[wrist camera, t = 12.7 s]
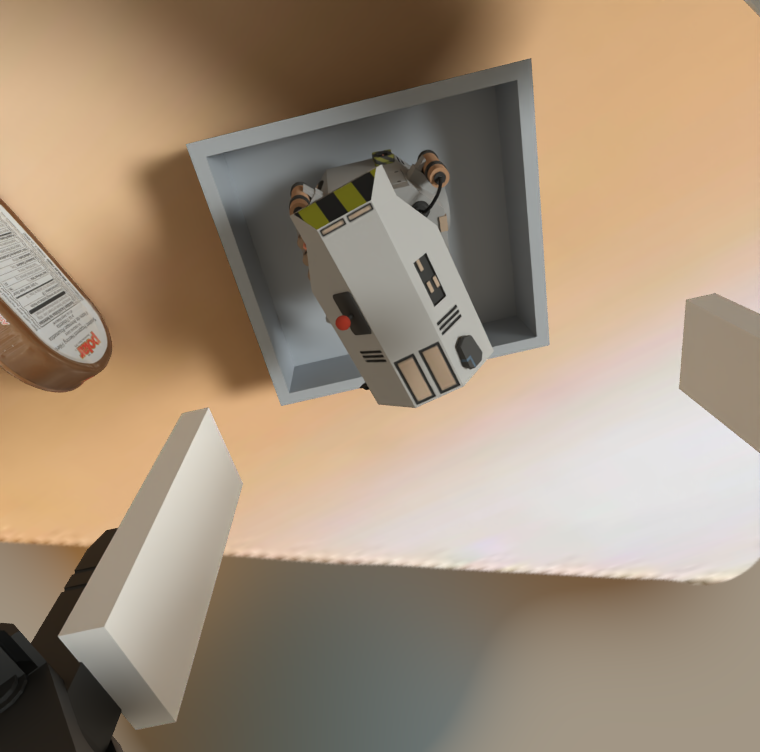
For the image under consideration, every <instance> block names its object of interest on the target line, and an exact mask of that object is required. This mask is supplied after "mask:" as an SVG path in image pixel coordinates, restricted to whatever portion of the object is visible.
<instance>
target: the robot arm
mask: <svg viewBox="0 0 760 752" xmlns="http://www.w3.org/2000/svg"><path fill="white" fill-rule="evenodd" d="M744 1H745V2H746V3H747V4H748V5H749V6H750V7H751V8H752V9H753V10H754V11H755V12H756V13H757V14H758V15H759V17H760V0H744ZM679 389H680V390H681V391H683V392H684V393H685V394H686V395H688V396H689V397H690V398H691V399H693V400H694V401H695V402H696V403H698V404H699V405H700V406H702V407H703V408H704V409H705V410H707V411H708V412H709V413H710V414H712V415H713V416H714V417H715V418H717V419H718V420H719V421H720V422H722V423H723V424H724V425H725V426H727V427H728V428H729V429H730V430H732V431H733V432H734V433H735V434H737V435H738V436H739V437H740V438H742V439H743V440H744V441H745V442H747V443H748V444H749V445H750V446H752V447H753V448H754V449H755V450H757V451H758V452H759V453H760V314H759V313H757V312H754V311H752V310H750V309H748V308H746V307H744V306H742V305H739V304H737V303H735V302H733V301H731V300H729V299H726V298H724V297H722V296H720V295H718V294H716V293H714V294H710V295H706V296H701V297H697V298H692V299H688V300H686V307H685V320H684V333H683V345H682V358H681V371H680V384H679ZM242 485H243V483H242V480H241V478H240V476H239V474H238V471H237V469H236V467H235V465H234V463H233V460H232V458H231V456H230V454H229V451H228V449H227V447H226V445H225V443H224V440H223V438H222V436H221V434H220V431H219V429H218V427H217V425H216V423H215V420H214V418H213V416H212V414H211V411H210V409H209V407H208V408H204V409H199V410H195V411H190V412H186V413H182V414H181V416H180V418H179V420H178V422H177V423H176V425H175V427H174V429H173V431H172V432H171V434H170V436H169V438H168V439H167V441H166V443H165V445H164V447H163V448H162V450H161V452H160V454H159V456H158V457H157V459H156V461H155V463H154V465H153V466H152V468H151V470H150V472H149V474H148V475H147V477H146V479H145V481H144V483H143V484H142V486H141V488H140V490H139V491H138V493H137V495H136V497H135V499H134V500H133V502H132V504H131V506H130V508H129V509H128V511H127V513H126V515H125V517H124V518H123V520H122V522H121V524H120V526H119V527H118V528H115V529H110V530H106V531H105V532H104V533H103V534H102V535H101V536H100V537H99V538H98V539H97V540H96V541H95V542H94V543H93V544H92V545H91V546H90V547H89V548H88V549H87V551H86V553H85V554H84V556H83V557H82V559H81V561H80V563H79V564H78V566H77V568H76V569H75V574H74V575H72V576H71V577H70V579H69V581H68V582H67V584H66V586H65V588H64V589H65V591H64V592H62V593H61V594H60V596H59V597H58V599H57V601H56V602H55V604H54V606H53V607H52V609H51V611H50V612H49V614H48V616H47V617H46V619H45V621H44V622H43V624H42V626H41V627H40V629H39V631H38V632H37V634H36V636H35V637H34V639H33V641H32V642H31V643H30V642H29V641H28V640H27V639H26V638H25V637H24V635H23V634H22V633H21V632H20V631H19V630H18V629H17V628H16V626H15V625H14V624H7V623H0V752H123V750H122V748H121V746H120V744H119V743H118V742H117V741H116V739H115V738H114V737H113V736H112V735H113V732H114V730H115V727H116V724H117V721H118V719H119V716H120V714H121V713H122V714H123V715H124V716H125V718H126V719H127V720H128V721H129V722H130V724H131V725H132V726H133V727H134V728H135V729H136V730H137V729H142V728H147V727H152V726H157V725H163V724H168V723H172V722H176V720H177V716H178V713H179V709H180V706H181V702H182V699H183V695H184V691H185V688H186V684H187V681H188V677H189V674H190V670H191V667H192V663H193V659H194V656H195V652H196V649H197V645H198V642H199V638H200V634H201V631H202V627H203V624H204V620H205V617H206V613H207V609H208V606H209V603H210V599H211V595H212V592H213V588H214V585H215V581H216V577H217V574H218V571H219V567H220V563H221V560H222V556H223V553H224V549H225V546H226V542H227V538H228V535H229V531H230V528H231V524H232V521H233V517H234V514H235V510H236V506H237V503H238V499H239V496H240V492H241V489H242Z"/></svg>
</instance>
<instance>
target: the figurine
mask: <svg viewBox="0 0 760 752" xmlns="http://www.w3.org/2000/svg"><path fill="white" fill-rule="evenodd" d="M449 178H450V176H449V172H448V171H447V168H446V167H445V165H444V164H443V163H442V162H440V161H439V159H438V156H437V155H436V153H435V152H434V151H432V150H424V151H422V152H421V153H420V154H419V156H418V158H417V162H416V163H415V165H414V164H412V166H411V165H409V164H408V163H406V162H405V161H403V160H402V159H400V158H399V157H398V156H396V155H395V154H393V153H392V152H391V150H390V149H388V150H384V151H377V152H373V153H372V158H371V159H367V160H363V161H359V162H355V163H351V164H347V165H343V166H339V167H335V168H330V169H326V171H325V173H324V175H323V176H322V178H321V180H320V182H319V183H318V184H317V186H316V188H315V189H313V188H311V187H309V186H308V185H307V184H306V183H304V182H297V183H295V184H293V186H292V187H291V191H290V196H291V200H290V203H289V210H290V211H289V212H290V218H291V219H292V221H293V223H294V225H295V227H296V232H297V236H298V240H297V245H298V247H299V248H300V249H301V250H302V253H303V259H302V260H303V263H304V264H305V265H306V266H308V267H309V270H308V278H309V280H310V281H311V289H312V292H313V294H314V296H315V297H316V299H317V301H318V303H319V304H320V306H321V308H322V309H323V311H324V313H325V314H326V322H328V323H329V324H331V325H332V326H333V328H334V330H335V331H336V333H337V335H338V337H339V338H340V340H341V342H342V343H343V345H344V347H345V348H346V350H347V352H348V354H349V355H350V357H351V359H352V360H353V362H354V364H355V365H356V367H357V369H358V370H359V372H360V374H361V376H362V377H363V379H364V381H365V383H363V384H362V385H361V387H360V388H364V389H365V390H368V389H370V391H371V393H372V394H373V396H374V398H375V399H376V401H377V403H378V404H379V405H390V406H401V407H412V408H416V407H419V406H421V405H423V404H425V403H427V402H430V401H432V400H434V399H436V398H439V397H441V396H443V395H445V394H447V393H450V392H452V391H454V390H456V389H458V388H461V387H463V386H464V385H465V384H466V383H467V382H468V381H469V379H470V378H471V377H472V376H473V375H474V374H475V373H476V371H477V370H478V369H479V368H480V367H481V366H482V365H483V363H484V362H485V361H486V360H487V359H488V358H489V356H490V355H491V354H492V353H493V352H494V350H493V348H492V346H491V344H490V341H489V339H488V337H487V335H486V333H485V330H484V328H483V326H482V324H481V322H480V319H479V317H478V315H477V313H476V311H475V308H474V306H473V304H472V302H471V300H470V297H469V295H468V293H467V291H466V288H465V286H464V284H463V282H462V280H461V277H460V275H459V273H458V271H457V269H456V266H455V264H454V262H453V260H452V257H451V255H450V251H449V243H448V235H447V231H448V230H449V227H450V210H449V203H448V199H447V194H446V191H445V187H444V186H445V185H446V184H447V183H448V181H449Z"/></svg>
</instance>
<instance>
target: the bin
mask: <svg viewBox="0 0 760 752" xmlns="http://www.w3.org/2000/svg"><path fill="white" fill-rule="evenodd" d="M186 146H187V149H188V152H189V155H190V157H191V160H192V163H193V165H194V168H195V171H196V174H197V176H198V179H199V182H200V185H201V187H202V190H203V193H204V196H205V198H206V201H207V204H208V207H209V209H210V212H211V215H212V218H213V220H214V223H215V226H216V228H217V231H218V234H219V237H220V239H221V242H222V245H223V248H224V250H225V253H226V256H227V259H228V261H229V264H230V267H231V270H232V272H233V275H234V278H235V281H236V283H237V286H238V289H239V291H240V294H241V297H242V300H243V302H244V305H245V308H246V311H247V313H248V316H249V319H250V322H251V324H252V327H253V330H254V333H255V335H256V338H257V341H258V344H259V346H260V349H261V352H262V354H263V357H264V360H265V363H266V365H267V368H268V371H269V374H270V376H271V379H272V382H273V385H274V387H275V390H276V393H277V396H278V398H279V401H280V404H281V406H283V405H288V404H292V403H296V402H301V401H305V400H310V399H314V398H318V397H323V396H327V395H332V394H336V393H340V392H345V391H349V390H354V389H358V388H360V387H361V385H362V384H363V383H365V381H364V379H363V377H362V376H361V374H360V372H359V370H358V369H357V367H356V365H355V364H354V362H353V360H352V359H351V357H350V355H349V354H348V352H347V350H346V348H345V347H344V345H343V343H342V342H341V340H340V338H339V337H338V335H337V333H336V331H335V330H334V328H333V326H332V325H331V324H329V323H328V322H326V314H325V313H324V311H323V309H322V308H321V306H320V304H319V303H318V301H317V299H316V297H315V296H314V294H313V292H312V289H311V281H310V280H309V278H308V270H309V267H308V266H306V265H305V264H304V263H303V260H302V259H303V253H302V250H301V249H300V248H299V247H298V245H297V240H298V236H297V232H296V227H295V225H294V223H293V221H292V219H291V218H290V212H289V211H290V210H289V203H290V200H291V196H290V191H291V187H292V186H293V184H295V183H297V182H304V183H306V184H307V185H308V186H309V187H311V188H313V189H315V188H316V186H317V184H318V183H319V182H320V180H321V178H322V176H323V175H324V173H325V171H326V169H330V168H335V167H339V166H343V165H347V164H351V163H355V162H359V161H363V160H367V159H371V158H372V153H373V152H377V151H384V150H388V149H390V150H391V152H392V153H393V154H395V155H396V156H398V157H399V158H400V159H402V160H403V161H405V162H406V163H408V164H409V165H411V166H412V164H414V165H415V163H416V162H417V158H418V156H419V154H420V153H421V152H422V151H424V150H432V151H434V152H435V153H436V155H437V156H438V159H439V161H440V162H442V163H443V164H444V165H445V167H446V168H447V171H448V172H449V176H450V178H449V181H448V183H447V184H446V185H445V186H444V187H445V191H446V194H447V199H448V203H449V210H450V227H449V230H448V231H447V235H448V243H449V251H450V255H451V257H452V260H453V262H454V264H455V266H456V269H457V271H458V273H459V275H460V277H461V280H462V282H463V284H464V286H465V288H466V291H467V293H468V295H469V297H470V300H471V302H472V304H473V306H474V308H475V311H476V313H477V315H478V317H479V319H480V322H481V324H482V326H483V328H484V330H485V333H486V335H487V337H488V339H489V341H490V344H491V346H492V348H493V350H494V352H493V353H492V354H491V355H490V356H489V358H488V359H490V358H495V357H499V356H503V355H508V354H512V353H517V352H521V351H525V350H530V349H534V348H539V347H543V346H548V345H549V329H548V313H547V298H546V282H545V267H544V251H543V235H542V220H541V204H540V188H539V173H538V157H537V142H536V126H535V110H534V95H533V79H532V63H531V58H530V59H526V60H522V61H518V62H514V63H510V64H506V65H502V66H498V67H494V68H490V69H486V70H482V71H478V72H474V73H470V74H466V75H462V76H458V77H454V78H450V79H446V80H442V81H438V82H434V83H430V84H426V85H422V86H418V87H414V88H410V89H406V90H402V91H398V92H394V93H390V94H386V95H382V96H378V97H374V98H370V99H366V100H362V101H358V102H354V103H350V104H346V105H342V106H338V107H334V108H330V109H326V110H322V111H318V112H314V113H310V114H306V115H302V116H298V117H294V118H290V119H286V120H282V121H277V122H273V123H269V124H265V125H261V126H257V127H253V128H249V129H245V130H241V131H237V132H233V133H229V134H225V135H221V136H217V137H213V138H209V139H205V140H201V141H197V142H193V143H189V144H186Z"/></svg>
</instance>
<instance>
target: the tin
mask: <svg viewBox="0 0 760 752" xmlns="http://www.w3.org/2000/svg"><path fill="white" fill-rule="evenodd" d="M111 353H112V341H111V337H110V334H109V331H108V328H107V326H106V324H105V322H104V320H103V318H102V316H101V314H100V313H99V311H98V310H97V309H96V307H95V306H94V304H93V303H92V302H91V301H90V300H89V298H88V297H87V296H86V295H85V294H84V293H83V291H82V290H81V289H80V288H79V287H78V286H77V284H76V283H75V282H74V281H73V280H72V279H71V278H70V276H69V275H68V274H67V273H66V272H65V271H64V269H63V268H62V267H61V266H60V265H59V264H58V262H57V261H56V260H55V259H54V258H53V257H52V256H51V254H50V253H49V252H48V251H47V250H46V249H45V248H44V246H43V245H42V244H41V243H40V242H39V241H38V240H37V238H36V237H35V236H34V235H33V234H32V233H31V232H30V230H29V229H28V228H27V227H26V226H25V225H24V224H23V222H22V221H21V220H20V219H19V218H18V217H17V216H16V215H15V213H14V212H13V211H12V210H11V209H10V208H9V207H8V206H7V205H6V204H5V203H4V202H3V201H2V200H1V199H0V367H2V368H3V369H4V370H5V371H7V372H8V373H9V374H11V375H13V376H14V377H16V378H17V379H19V380H20V381H22V382H24V383H26V384H29V385H31V386H33V387H35V388H38V389H42V390H45V391H50V392H68V391H72V390H74V389H76V388H78V387H79V386H81V385H82V384H83V383H84V382H85V381H86V380H88V379H90V378H92V377H93V376H95V375H96V374H98V373H99V372H101V371H102V370H103V369H104V368H105V367H106V366H107V364H108V362H109V359H110V357H111Z"/></svg>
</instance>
